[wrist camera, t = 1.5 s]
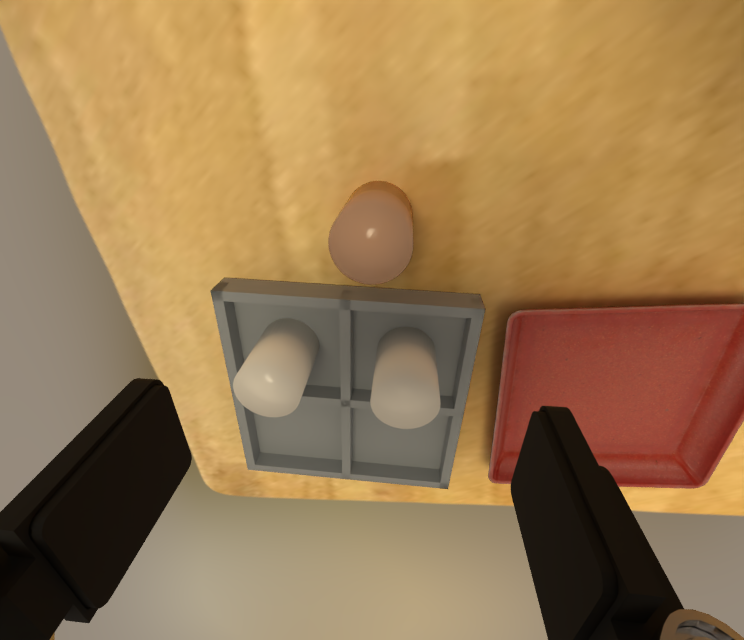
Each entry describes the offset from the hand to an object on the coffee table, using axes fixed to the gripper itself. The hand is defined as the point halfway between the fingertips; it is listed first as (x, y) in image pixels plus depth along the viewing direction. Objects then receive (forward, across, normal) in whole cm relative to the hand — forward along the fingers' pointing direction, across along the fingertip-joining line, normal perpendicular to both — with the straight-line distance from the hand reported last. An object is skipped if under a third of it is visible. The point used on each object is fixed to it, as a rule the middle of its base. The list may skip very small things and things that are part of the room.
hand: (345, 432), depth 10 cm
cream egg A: (+18, +7, +10) cm, 21 cm away
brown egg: (+19, 0, -1) cm, 19 cm away
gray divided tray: (+18, +3, +14) cm, 24 cm away
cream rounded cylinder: (+18, -2, +10) cm, 20 cm away
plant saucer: (+19, -18, +13) cm, 29 cm away
